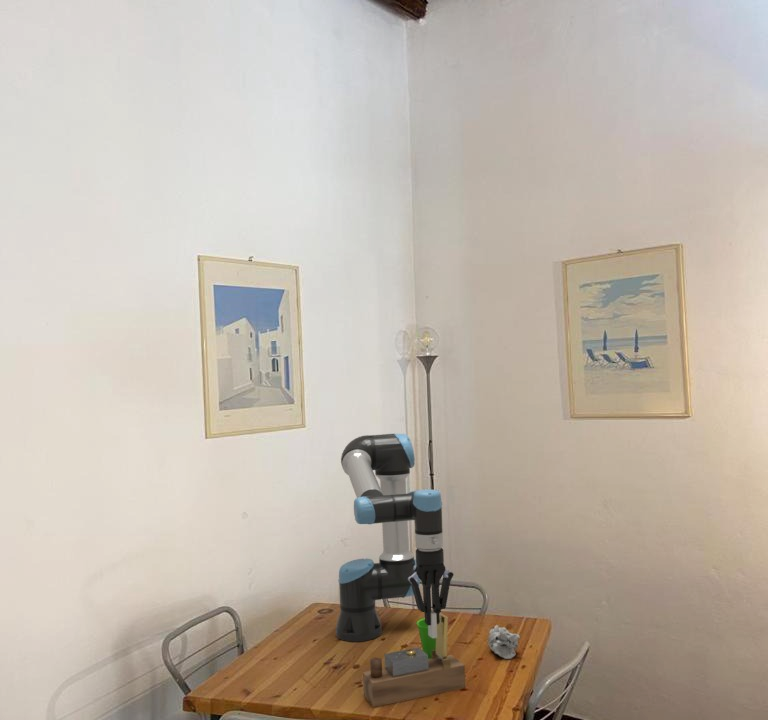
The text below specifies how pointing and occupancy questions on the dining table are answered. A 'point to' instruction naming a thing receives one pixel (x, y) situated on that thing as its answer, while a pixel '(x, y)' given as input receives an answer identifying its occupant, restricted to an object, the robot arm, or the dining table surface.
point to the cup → (426, 638)
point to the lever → (441, 638)
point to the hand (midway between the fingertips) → (432, 636)
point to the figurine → (503, 642)
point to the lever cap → (406, 662)
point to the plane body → (412, 681)
